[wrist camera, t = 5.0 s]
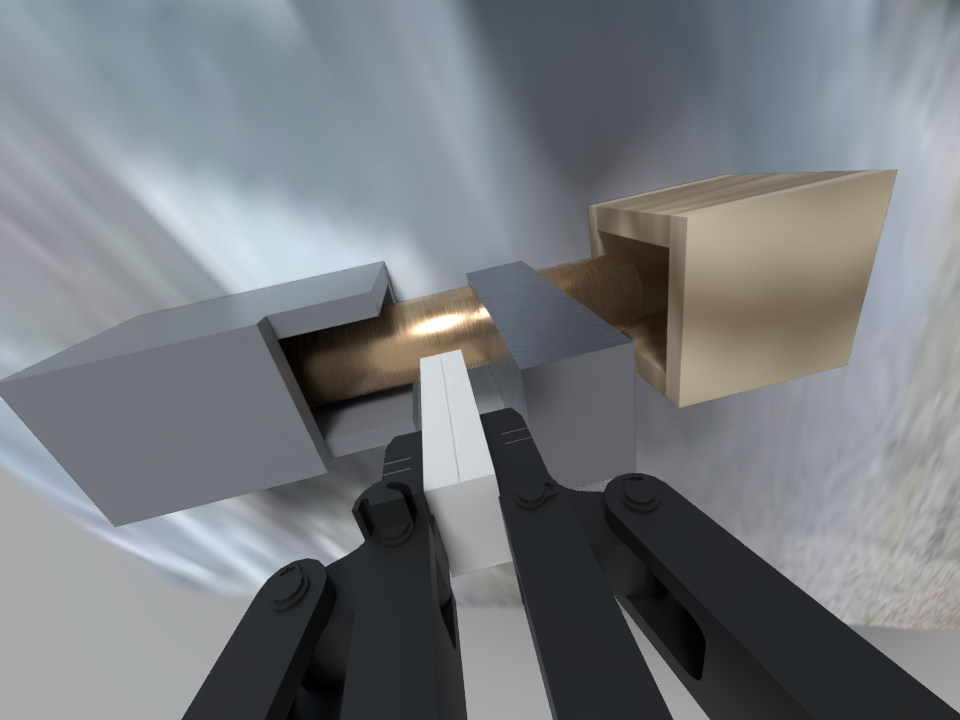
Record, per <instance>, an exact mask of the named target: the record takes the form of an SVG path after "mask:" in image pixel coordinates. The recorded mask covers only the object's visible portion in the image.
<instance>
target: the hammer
mask: <svg viewBox="0 0 960 720" xmlns="http://www.w3.org/2000/svg"><path fill="white" fill-rule="evenodd" d="M466 275H467V280H468V285H469V286H466V287H462V288H458V289H453V290H449V291H445V292H440V293H436V294H432V295H427V296H423V297H419V298H414V299H410V300H406V301H401V302H397V303H393V304H388V305H384V306H381V310H380V313H379V316H376V317H372V318H368V319H363V320H359V321H355V322H350V323H346V324H342V325H338V326H333V327H329V328H325V329H320V330H316V331H312V332H307V333H303V334H299V335H294V336H290V337H286V338H282V339H277V340H278V342H279V344H280V347H281V349H282V351H283V353H284V355H285V357H286V360H287V362H288V364H289V366H290V368H291V370H292V372H293V375H294V377H295V379H296V381H297V383H298V385H299V388H300V390H301V392H302V394H303V396H304V398H305V401H306V403H307V405H308V407H309V408H312V407H316V406H320V405H324V404H328V403H332V402H336V401H340V400H344V399H349V398H353V397H357V396H361V395H365V394H369V393H373V392H377V391H381V390H386V389H390V388H394V387H398V386H402V385H406V384H410V383H414V382H418V381H421V371H420V359H421V358H425V357H430V356H434V355H438V354H443V353H447V352H451V351H456V350H460V349H461V352H462V355H463V359H464V363H465V366H466V370H468V369H472V368H476V367H480V366H484V365H488V366H489V368H490V371H491V373H492V376H493V378H494V380H495V383H496V385H497V388H498V390H499V393H500V395H501V398H502V400H503V403H504V405H505V408H510V407H511V408H512V409H514V410H515V411H517V412H518V413H520V414H521V415H522V416H523V418H524V421H525V423H526V425H527V428H528V429H529V431H530V433H531V436H532V438H533V440H534V442H535V444H536V446H537V449H538V451H539V453H540V455H541V457H542V459H543V462H544V464H545V466H546V468H547V470H548V472H549V474H550V475H551V477H552V478H553V479H554V480H556V481H557V482H558V484H560V485H562V486H564V487H566V488H569V489H574V488H577V487H581V486H585V485H589V484H593V483H596V482H600V481H604V480H608V479H611V478H615V477H617V476H620V475H623V474H627V473H634V472H636V437H635V371H634V341H632V340H631V339H629V338H628V337H627V336H625V335H624V334H622V333H621V332H624V331H628V330H632V329H635V328H636V327H637V326H638V325H639V323H640V321H641V319H642V315H643V309H644V295H643V288H642V283H641V279H640V276H639V273H638V271H637V269H636V267H635V265H634V263H633V262H632V260H631V259H630V258H629V257H628V256H627V255H626V254H625V253H623V252H614V253H609V254H605V255H601V256H596V257H592V258H588V259H583V260H579V261H575V262H570V263H566V264H562V265H557V266H553V267H549V268H544V269H540V270H536V271H535V270H534V269H532V268H531V267H529V266H528V265H527V264H525V263H524V262H522V261H520V262H515V263H511V264H507V265H502V266H498V267H493V268H489V269H485V270H480V271H476V272H472V273H467V274H466Z"/></svg>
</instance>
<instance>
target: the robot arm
mask: <svg viewBox="0 0 960 720" xmlns="http://www.w3.org/2000/svg"><path fill="white" fill-rule="evenodd" d="M420 371H421V407H422V430H421V431H417V432H413V433H408V434H404V435H400V436H396V437H394V438H393V439H392V441H391V442H390V444H389V445H388V447H387V448H386V450H385V459H384V468H383V477H382V481H380V482H378V483H375V484H374V485H372V486H371V487H369V488H368V489H366V490H365V491H364V492H363V493H362V494H361V495H360V496H359V498H358V499H357V500H356V502H355V504H354V506H353V509H352V513H353V515H354V517H355V519H356V521H357V524H358V526H359V528H360V530H361V532H362V535H363V537H364V539H365V542H364V543H363V544H362V545H361V546H360V547H359V548H357V549H356V550H354V551H353V552H351V553H350V554H348V555H347V556H345V557H343V558H341V559H339V560H337V561H336V562H334V563H332V564H330V565H328V566H326V567H325V566H324V565H323V564H322V563H320V562H319V561H318V560H315V559H309V558H306V559H302V560H298V561H294V562H292V563H290V564H288V565H286V566H284V567H283V568H281V569H280V570H278V571H277V572H276V573H275V574H274V575H272V576H271V577H270V578H269V579H268V580H267V581H266V583H265V584H264V585H263V586H262V588H261V589H260V590H259V592H258V593H257V595H256V596H255V598H254V600H253V601H252V603H251V605H250V607H249V608H248V610H247V611H246V613H245V615H244V617H243V618H242V620H241V622H240V623H239V625H238V626H237V628H236V630H235V631H234V633H233V635H232V636H231V638H230V640H229V641H228V643H227V645H226V646H225V648H224V650H223V652H222V653H221V655H220V657H219V658H218V660H217V661H216V663H215V665H214V667H213V668H212V670H211V671H210V673H209V675H208V676H207V678H206V680H205V681H204V683H203V685H202V686H201V688H200V690H199V691H198V693H197V695H196V696H195V698H194V700H193V701H192V703H191V705H190V706H189V708H188V710H187V711H186V713H185V715H184V716H183V718H182V720H467V711H466V701H465V690H464V680H463V670H462V660H461V651H460V640H459V630H458V620H457V610H456V601H455V598H454V595H453V592H452V589H451V583H450V572H451V575H452V577H456V576H460V575H463V574H467V573H471V572H475V571H478V570H482V569H486V568H490V567H493V566H497V565H501V564H504V563H508V562H512V561H513V563H514V567H515V571H516V575H517V580H518V584H519V589H520V594H521V598H522V603H523V605H524V608H525V612H526V615H527V619H528V623H529V627H530V631H531V635H532V639H533V643H534V647H535V651H536V655H537V659H538V662H539V666H540V671H541V674H542V678H543V682H544V686H545V690H546V694H547V698H548V702H549V706H550V709H551V714H552V717H553V720H673V718H672V716H671V714H670V712H669V710H668V708H667V705H666V703H665V701H664V699H663V697H662V695H661V693H660V691H659V689H658V687H657V685H656V682H655V681H654V678H653V676H652V674H651V672H650V670H649V668H648V666H647V664H646V662H645V660H644V657H643V655H642V653H641V651H640V649H639V647H638V645H637V643H636V641H635V639H634V637H633V635H632V633H631V630H630V628H629V626H628V624H627V622H626V620H625V618H624V616H623V614H622V612H621V610H620V608H619V605H618V603H617V601H616V599H617V600H618V601H619V602H620V604H621V605H622V606H623V608H624V609H625V610H626V611H627V613H628V614H629V615H630V617H631V618H632V619H633V620H634V622H635V623H636V624H637V625H638V627H639V628H640V629H641V631H642V632H643V633H644V635H645V636H646V637H647V639H648V640H649V641H650V642H651V644H652V645H653V646H654V648H655V649H656V650H657V651H658V653H659V654H660V655H661V657H662V658H663V659H664V660H665V662H666V663H667V664H668V666H669V667H670V668H671V670H672V671H673V672H674V673H675V675H676V676H677V677H678V679H679V680H680V681H681V682H682V684H683V685H684V686H685V688H686V689H687V690H688V691H689V693H690V694H691V695H692V697H693V698H694V699H695V700H696V702H697V703H698V704H699V706H700V707H701V708H702V710H703V711H704V712H705V713H706V715H707V716H708V717H709V719H710V720H960V714H959V713H958V712H957V711H956V710H954V709H953V708H952V707H950V706H949V705H948V704H947V703H945V702H944V701H943V700H942V699H940V698H939V697H938V696H936V695H935V694H934V693H933V692H931V691H930V690H929V689H928V688H926V687H925V686H924V685H922V684H921V683H920V682H919V681H917V680H916V679H915V678H913V677H912V676H911V675H910V674H908V673H907V672H906V671H905V670H903V669H902V668H901V667H899V666H898V665H897V664H896V663H894V662H893V661H892V660H891V659H889V658H888V657H886V656H885V655H884V654H883V653H881V652H880V651H879V650H878V649H877V648H875V647H874V646H873V645H871V644H870V643H869V642H868V641H866V640H865V639H864V638H863V637H861V636H860V635H859V634H857V633H856V632H855V631H853V630H852V629H851V628H850V627H848V626H847V625H846V624H845V623H843V622H842V621H841V620H840V619H838V618H837V617H836V616H834V615H833V614H832V613H831V612H829V611H828V610H827V609H826V608H824V607H823V606H822V605H820V604H819V603H818V602H817V601H815V600H814V599H813V598H812V597H810V596H809V595H808V594H806V593H805V592H804V591H803V590H801V589H800V588H799V587H798V586H796V585H795V584H794V583H792V582H791V581H790V580H789V579H787V578H786V577H785V576H783V575H782V574H781V573H780V572H778V571H777V570H776V569H775V568H773V567H772V566H771V565H769V564H768V563H767V562H766V561H764V560H763V559H762V558H761V557H759V556H758V555H757V554H755V553H754V552H753V551H752V550H750V549H749V548H748V547H747V546H745V545H744V544H743V543H741V542H740V541H739V540H738V539H736V538H735V537H734V536H733V535H731V534H730V533H729V532H727V531H726V530H725V529H724V528H722V527H721V526H720V525H718V524H717V523H716V522H715V521H713V520H712V519H711V518H710V517H708V516H707V515H706V514H704V513H703V512H702V511H701V510H699V509H698V508H697V507H696V506H694V505H693V504H692V503H690V502H689V501H688V500H687V499H685V498H684V497H683V496H682V495H680V494H679V493H678V492H676V491H675V490H674V489H673V488H671V487H670V486H669V485H668V484H666V483H665V482H663V481H661V480H659V479H658V478H656V477H654V476H650V475H646V474H642V473H627V474H623V475H620V476H617V477H615V478H614V479H613V480H611V481H610V482H609V483H608V484H607V486H606V489H605V491H604V492H589V491H576V490H572V489H569V488H566V487H564V486H562V485H560V484H558V482H557V481H556V480H554V479H553V478H552V477H551V475H550V474H549V472H548V470H547V468H546V466H545V464H544V462H543V459H542V457H541V455H540V453H539V451H538V449H537V446H536V444H535V442H534V440H533V438H532V436H531V433H530V431H529V429H528V428H527V425H526V423H525V421H524V418H523V416H522V415H521V414H520V413H518V412H517V411H515V410H514V409H512V408H511V407H510V408H506V409H502V410H498V411H494V412H490V413H485V414H481V415H479V413H478V410H477V406H476V402H475V399H474V395H473V391H472V388H471V384H470V381H469V377H468V373H467V370H466V366H465V363H464V359H463V355H462V352H461V349H460V350H456V351H451V352H447V353H443V354H438V355H434V356H430V357H425V358H421V359H420ZM449 569H450V572H449ZM614 595H615V597H616V599H615V597H614Z"/></svg>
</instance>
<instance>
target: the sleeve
mask: <svg viewBox="0 0 960 720" xmlns="http://www.w3.org/2000/svg"><path fill="white" fill-rule="evenodd" d="M393 303H396V301H395V297H394V294H393V291H392V287H391V284H390V281H389V277H388V274H387V271H386V267H385V264H384V261H382V262H377V263H373V264H369V265H364V266H360V267H355V268H351V269H346V270H342V271H337V272H333V273H328V274H324V275H319V276H315V277H311V278H306V279H302V280H297V281H293V282H288V283H284V284H279V285H275V286H270V287H266V288H262V289H257V290H253V291H248V292H244V293H239V294H235V295H230V296H226V297H221V298H217V299H213V300H208V301H204V302H199V303H195V304H190V305H186V306H181V307H177V308H172V309H168V310H164V311H159V312H155V313H150V314H146V315H141V316H137V317H134V318H132V319H130V320H128V321H126V322H124V323H121V324H119V325H117V326H115V327H113V328H111V329H109V330H107V331H104V332H102V333H100V334H98V335H96V336H94V337H92V338H90V339H87V340H85V341H83V342H81V343H79V344H77V345H75V346H73V347H71V348H68V349H66V350H64V351H62V352H60V353H58V354H56V355H54V356H51V357H49V358H47V359H45V360H43V361H41V362H39V363H37V364H34V365H32V366H30V367H28V368H26V369H24V370H22V371H20V372H18V373H15V374H13V375H11V376H9V377H7V378H5V379H3V380H1V381H0V396H1V397H2V398H3V399H4V401H5V402H6V403H7V404H8V405H9V406H10V407H11V409H12V410H13V411H14V412H15V413H16V414H17V415H18V417H19V418H20V419H21V420H22V421H23V422H24V423H25V425H26V426H27V427H28V428H29V429H30V430H31V432H32V433H33V434H34V435H35V436H36V437H37V438H38V440H39V441H40V442H41V443H42V444H43V445H44V446H45V448H46V449H47V450H48V451H49V452H50V453H51V454H52V456H53V457H54V458H55V459H56V460H57V461H58V462H59V464H60V465H61V466H62V467H63V468H64V469H65V470H66V472H67V473H68V474H69V475H70V476H71V477H72V478H73V480H74V481H75V482H76V483H77V484H78V485H79V486H80V488H81V489H82V490H83V491H84V492H85V493H86V495H87V496H88V497H89V498H90V499H91V500H92V501H93V503H94V504H95V505H96V506H97V507H98V508H99V509H100V511H101V512H102V513H103V514H104V515H105V516H106V517H107V519H108V520H109V521H110V522H111V523H112V524H113V525H114V527H118V526H122V525H125V524H129V523H133V522H137V521H141V520H145V519H149V518H153V517H157V516H161V515H165V514H169V513H173V512H177V511H181V510H185V509H189V508H193V507H197V506H200V505H204V504H208V503H212V502H216V501H220V500H224V499H228V498H232V497H236V496H240V495H244V494H248V493H252V492H256V491H260V490H264V489H268V488H272V487H275V486H279V485H283V484H287V483H291V482H295V481H299V480H303V479H307V478H311V477H315V476H319V475H323V474H327V473H328V471H329V468H330V464H331V461H332V458H336V457H340V456H344V455H348V454H352V453H356V452H360V451H364V450H368V449H372V448H376V447H380V446H384V445H388V444H390V442H391V441H392V439H393V438H394V437H396V436H400V435H404V434H408V433H413V432H417V431H418V382H414V383H410V384H406V385H402V386H398V387H394V388H390V389H386V390H381V391H377V392H373V393H369V394H365V395H361V396H357V397H353V398H349V399H344V400H340V401H336V402H332V403H328V404H324V405H320V406H316V407H312V408H309V407H308V405H307V403H306V401H305V398H304V396H303V394H302V392H301V390H300V388H299V385H298V383H297V381H296V379H295V377H294V375H293V372H292V370H291V368H290V366H289V364H288V362H287V360H286V357H285V355H284V353H283V351H282V349H281V347H280V344H279V342H278V340H277V339H282V338H286V337H290V336H294V335H299V334H303V333H307V332H312V331H316V330H320V329H325V328H329V327H333V326H338V325H342V324H346V323H350V322H355V321H359V320H363V319H368V318H372V317H376V316H379V313H380V310H381V306H384V305H388V304H393Z"/></svg>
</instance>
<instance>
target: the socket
mask: <svg viewBox="0 0 960 720" xmlns="http://www.w3.org/2000/svg"><path fill="white" fill-rule="evenodd" d="M897 171H898V170H866V171H834V172H803V173H771V174H739V175H723V176H718V177H714V178H709V179H705V180H700V181H696V182H691V183H687V184H682V185H678V186H673V187H669V188H664V189H660V190H656V191H651V192H647V193H642V194H638V195H633V196H629V197H624V198H620V199H615V200H611V201H606V202H602V203H597V204H593V205H588V209H589V225H590V241H591V257H596V256H601V255H605V254H609V253H614V252H623V253H625V254H626V255H627V256H628V257H629V258H630V259H631V260H632V262H633V263H634V265H635V267H636V269H637V271H638V273H639V276H640V279H641V283H642V288H643V295H644V309H643V315H642V319H641V321H640V323H639V325H638V326H637V327H636V328H635V329H632V330H628V331H624V332H621V333H622V334H624V335H625V336H627V337H628V338H629V339H631V340H632V341H634V370H635V371H636V372H637V373H638V374H639V375H641V376H642V377H643V378H644V379H645V380H646V381H648V382H649V383H650V384H651V385H652V386H653V387H655V388H656V389H657V390H658V391H659V392H661V393H662V394H663V395H664V396H665V397H666V398H668V399H669V400H670V401H671V402H672V403H673V404H675V405H676V406H677V407H678V408H682V407H686V406H690V405H693V404H697V403H701V402H705V401H709V400H713V399H717V398H721V397H725V396H728V395H732V394H736V393H740V392H744V391H748V390H752V389H756V388H760V387H764V386H767V385H771V384H775V383H779V382H783V381H787V380H791V379H795V378H799V377H802V376H806V375H810V374H814V373H818V372H822V371H826V370H830V369H834V368H837V367H841V366H845V365H847V363H848V359H849V355H850V351H851V348H852V344H853V340H854V336H855V332H856V328H857V325H858V321H859V317H860V313H861V309H862V305H863V302H864V298H865V294H866V290H867V286H868V282H869V279H870V275H871V271H872V267H873V263H874V259H875V255H876V252H877V248H878V244H879V240H880V236H881V232H882V229H883V225H884V221H885V217H886V213H887V209H888V206H889V202H890V198H891V194H892V190H893V186H894V183H895V179H896V175H897Z"/></svg>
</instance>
